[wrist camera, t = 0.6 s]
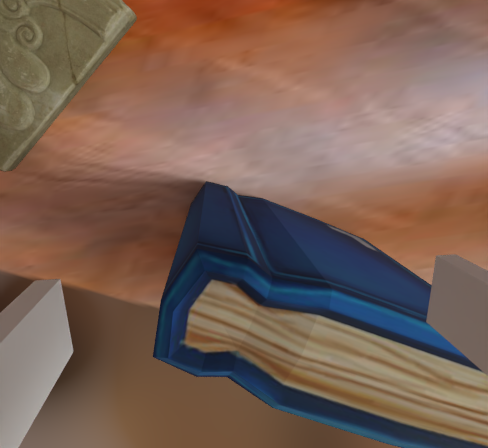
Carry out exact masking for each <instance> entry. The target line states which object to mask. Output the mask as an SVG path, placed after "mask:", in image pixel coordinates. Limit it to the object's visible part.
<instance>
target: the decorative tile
mask: <svg viewBox="0 0 488 448" xmlns="http://www.w3.org/2000/svg"><path fill="white" fill-rule="evenodd" d="M136 18H137V17H136V15H135V13H134V12H133V11H132V10H131V9H130V8H129V7H128V6H127V5H126V4H125V3H124V2H123V1H122V0H0V170H1V171H12V170H13V169H15V168H16V167H17V166H18V164H19V163H20V162H21V161H22V160H23V158H24V157H25V156H26V155H27V154H28V152H29V151H30V150H31V149H32V147H33V146H34V145H35V144H36V143H37V141H38V140H39V139H40V138H41V137H42V135H43V134H44V133H45V132H46V130H47V129H48V128H49V127H50V125H51V124H52V123H53V122H54V121H55V119H56V118H57V117H58V116H59V114H60V113H61V112H62V111H63V110H64V108H65V107H66V106H67V105H68V103H69V102H70V101H71V100H72V98H73V97H74V96H75V95H76V94H77V92H78V91H79V90H80V89H81V87H82V86H83V85H84V84H85V82H86V81H87V80H88V79H89V78H90V76H91V75H92V74H93V73H94V71H95V70H96V69H97V68H98V67H99V65H100V64H101V63H102V62H103V60H104V59H105V58H106V57H107V56H108V55H109V53H110V52H111V51H112V49H113V48H114V47H115V46H116V45H117V43H118V42H119V41H120V40H121V38H122V37H123V36H124V35H125V33H126V32H127V31H128V30H129V29H130V27H131V26H132V25H133V24H134V22H135V21H136Z"/></svg>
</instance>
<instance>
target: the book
mask: <svg viewBox="0 0 488 448" xmlns="http://www.w3.org/2000/svg"><path fill="white" fill-rule="evenodd" d="M431 287H432V285H430V284H429V283H427V282H426V281H424V280H423V279H421V278H420V277H418V276H417V275H416V274H414V273H413V272H411V271H410V270H408V269H407V268H405V267H404V266H403V265H401V264H400V263H398V262H397V261H395V260H394V259H392V258H391V257H389V256H388V255H387V254H385V253H384V252H382V251H381V250H379V249H378V248H376V247H375V246H373V245H372V244H371V243H369V242H368V241H366V240H365V239H363V238H360V237H358V236H355V235H353V234H351V233H348V232H346V231H343V230H341V229H339V228H336V227H334V226H331V225H329V224H327V223H324V222H322V221H319V220H317V219H315V218H312V217H309V216H307V215H304V214H302V213H299V212H296V211H294V210H291V209H289V208H286V207H283V206H281V205H278V204H276V203H273V202H270V201H268V200H265V199H263V198H256V197H248V196H240V195H237V194H236V193H235V192H234V191H233V190H231V189H230V188H229V187H228V186H223V185H219V184H215V183H211V182H206V183H205V184H204V186H203V187H202V188H201V190H200V191H199V193H198V194H197V196H196V197H195V199H194V200H193V202H192V203H191V206H190V209H189V212H188V216H187V219H186V222H185V225H184V228H183V232H182V235H181V238H180V241H179V244H178V248H177V251H176V254H175V257H174V260H173V264H172V267H171V270H170V273H169V276H168V279H167V283H166V286H165V289H164V292H163V295H162V299H161V304H160V311H159V319H158V325H157V332H156V339H155V346H154V353H153V357H154V358H156V359H159V360H161V361H163V362H165V363H167V364H170V365H172V366H174V367H176V368H178V369H181V370H183V371H185V372H187V373H189V374H192V375H194V376H196V377H228V378H229V379H231V380H232V381H234V382H235V383H237V384H238V385H240V386H241V387H243V388H244V389H246V390H247V391H248V392H250V393H252V394H253V395H254V396H256V397H257V398H259V399H260V400H262V401H264V402H265V403H266V404H268V405H269V406H271V407H272V408H275V409H279V410H282V411H285V412H288V413H291V414H294V415H297V416H301V417H304V418H307V419H310V420H313V421H316V422H320V423H323V424H326V425H329V426H332V427H335V428H339V429H342V430H345V431H348V432H351V433H354V434H358V435H361V436H364V437H367V438H371V439H374V440H377V441H380V442H383V443H386V444H390V445H394V446H398V447H402V448H488V376H487V375H486V374H485V373H484V372H483V371H482V370H481V369H479V368H478V367H477V366H476V365H475V364H474V363H473V362H471V361H470V360H469V359H468V358H467V357H466V356H465V355H463V354H462V353H461V352H460V351H459V350H458V349H457V348H455V347H454V346H453V345H452V344H451V343H450V342H449V341H447V340H446V339H445V338H444V337H443V336H442V335H441V334H439V333H438V332H437V331H436V330H435V329H434V328H433V327H431V326H430V325H429V324H428V323H427V322H426V320H427V313H428V307H429V300H430V293H431Z"/></svg>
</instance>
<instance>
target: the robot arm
mask: <svg viewBox="0 0 488 448" xmlns="http://www.w3.org/2000/svg"><path fill="white" fill-rule="evenodd" d="M426 322H427V323H428V324H429V325H430V326H431V327H433V328H434V329H435V330H436V331H437V332H438V333H439V334H441V335H442V336H443V337H444V338H445V339H446V340H447V341H449V342H450V343H451V344H452V345H453V346H454V347H455V348H457V349H458V350H459V351H460V352H461V353H462V354H463V355H465V356H466V357H467V358H468V359H469V360H470V361H471V362H473V363H474V364H475V365H476V366H477V367H478V368H479V369H481V370H482V371H483V372H484V373H485V374H486V375H487V376H488V271H487V270H485V269H483V268H481V267H479V266H477V265H475V264H473V263H471V262H469V261H467V260H465V259H463V258H461V257H459V256H457V255H439V256H436V260H435V267H434V273H433V280H432V287H431V293H430V300H429V307H428V313H427V320H426ZM72 353H73V347H72V341H71V336H70V330H69V325H68V319H67V314H66V308H65V303H64V298H63V292H62V286H61V281H60V279H52V280H36V281H34V282H33V283H32V284H31V285H30V286H29V287H28V288H27V289H26V290H25V291H23V292H22V293H21V294H20V295H19V296H18V297H17V298H16V299H15V300H14V301H13V302H12V303H11V304H10V305H8V306H7V307H6V308H5V309H4V310H3V311H2V312H1V313H0V448H18V447H19V445H20V444H21V442H22V440H23V438H24V436H25V435H26V433H27V431H28V430H29V428H30V426H31V424H32V423H33V421H34V419H35V418H36V416H37V414H38V412H39V411H40V409H41V407H42V405H43V404H44V402H45V400H46V398H47V396H48V395H49V393H50V391H51V390H52V388H53V386H54V384H55V383H56V381H57V379H58V377H59V376H60V374H61V372H62V370H63V369H64V367H65V365H66V363H67V362H68V360H69V358H70V356H71V355H72Z"/></svg>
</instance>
